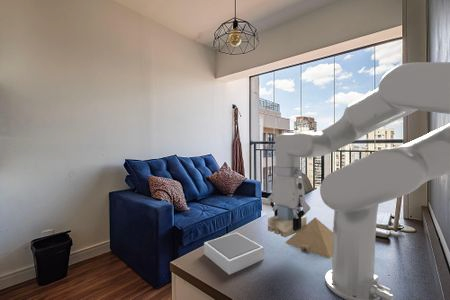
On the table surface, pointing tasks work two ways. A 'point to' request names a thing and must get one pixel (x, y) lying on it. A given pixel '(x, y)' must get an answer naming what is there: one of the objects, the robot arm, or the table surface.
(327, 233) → the model pyramid
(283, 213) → the light blue block
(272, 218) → the pallet
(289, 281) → the table surface
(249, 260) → the white square tray
